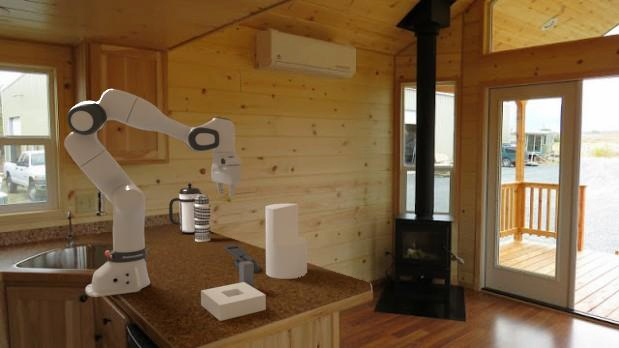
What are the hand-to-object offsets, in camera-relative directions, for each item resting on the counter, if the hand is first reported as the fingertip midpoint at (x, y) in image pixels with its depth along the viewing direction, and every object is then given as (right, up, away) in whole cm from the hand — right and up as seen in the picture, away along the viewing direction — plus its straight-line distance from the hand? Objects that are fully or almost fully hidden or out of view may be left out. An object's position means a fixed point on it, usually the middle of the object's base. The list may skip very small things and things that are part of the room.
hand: (226, 194), depth 173 cm
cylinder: (+23, -34, +13) cm, 43 cm away
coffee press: (-40, -27, +92) cm, 104 cm away
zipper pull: (+2, -33, +23) cm, 40 cm away
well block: (+7, -36, -26) cm, 45 cm away
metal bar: (+9, -35, -7) cm, 37 cm away
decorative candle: (-27, -29, +73) cm, 83 cm away
